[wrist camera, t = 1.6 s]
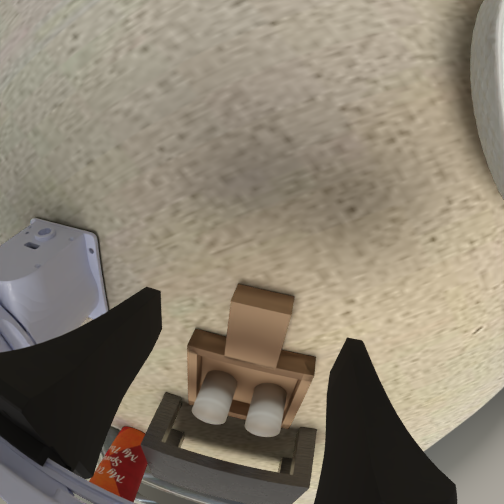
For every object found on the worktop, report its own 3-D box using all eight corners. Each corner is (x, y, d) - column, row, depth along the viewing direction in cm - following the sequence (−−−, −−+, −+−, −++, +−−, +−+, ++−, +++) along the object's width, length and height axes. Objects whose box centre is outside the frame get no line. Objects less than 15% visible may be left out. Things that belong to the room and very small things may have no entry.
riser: (165, 392, 32) (140, 444, 26) (316, 429, 30) (309, 487, 24) (171, 433, 37) (153, 476, 31) (292, 464, 36) (284, 510, 30)
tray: (197, 274, 23) (173, 313, 19) (335, 305, 22) (335, 352, 18) (194, 389, 30) (180, 424, 26) (291, 412, 29) (284, 450, 25)
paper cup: (139, 423, 38) (100, 502, 26) (170, 450, 41) (139, 524, 29) (107, 420, 41) (69, 489, 29) (137, 446, 44) (106, 511, 32)
